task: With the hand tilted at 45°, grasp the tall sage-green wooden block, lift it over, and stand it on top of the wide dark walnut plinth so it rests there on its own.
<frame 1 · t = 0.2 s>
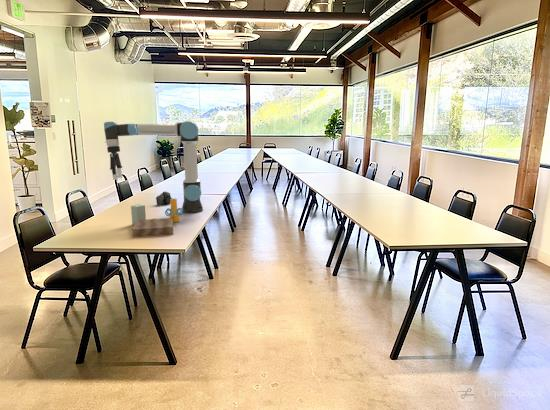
hand: (117, 178, 252), 27 cm above the table, tool pointing down, fingers open, 13 cm apart
walnut block: (154, 231, 230), on the table
orange post with rings: (174, 221, 252), on the table
sage block: (139, 223, 245), on the table
camera: (165, 204, 307), on the table
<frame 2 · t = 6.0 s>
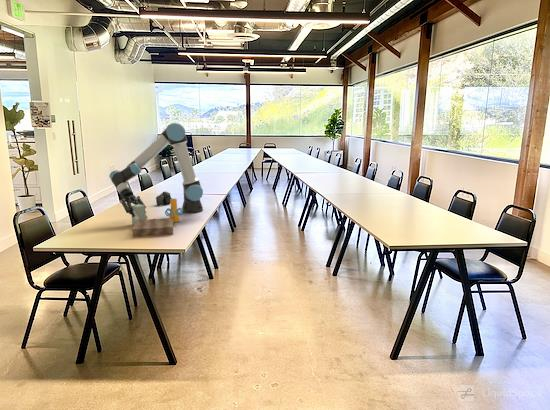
hand: (142, 219, 243), 4 cm above the table, tool tilted 45°, fingers closed on sage block, 6 cm apart
sage block: (139, 223, 245), on the table, touching gripper
everything else where it was.
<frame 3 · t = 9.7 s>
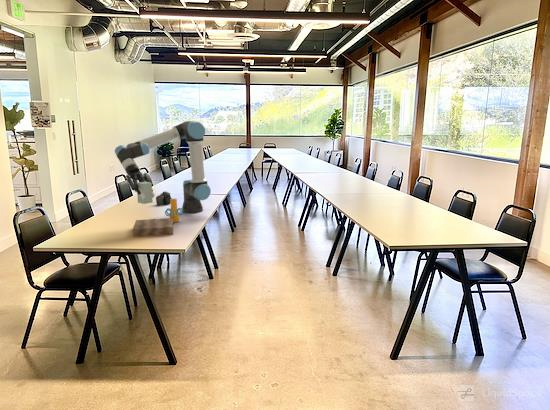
hand: (148, 197, 227), 20 cm above the table, tool tilted 45°, fingers closed on sage block, 6 cm apart
sage block: (145, 202, 230), point 16 cm above the table, touching gripper
everything else where it was.
when the fingers open (10 cm above the table, at t = 13.2 s): sage block drops 1 cm, resting on walnut block.
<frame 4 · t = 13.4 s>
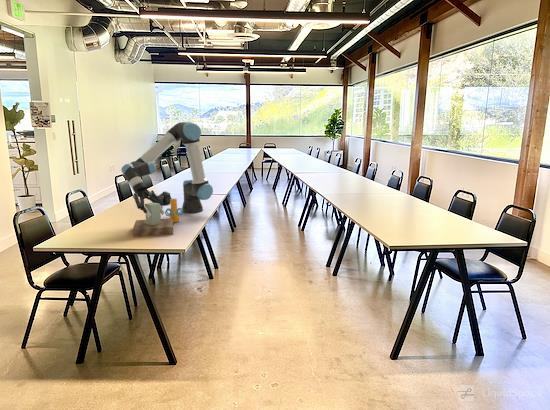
hand: (156, 215, 226), 10 cm above the table, tool tilted 45°, fingers open, 9 cm apart
walnut block: (154, 231, 230), on the table, touching sage block
sage block: (153, 223, 229), point 4 cm above the table, touching walnut block
everything else where it was.
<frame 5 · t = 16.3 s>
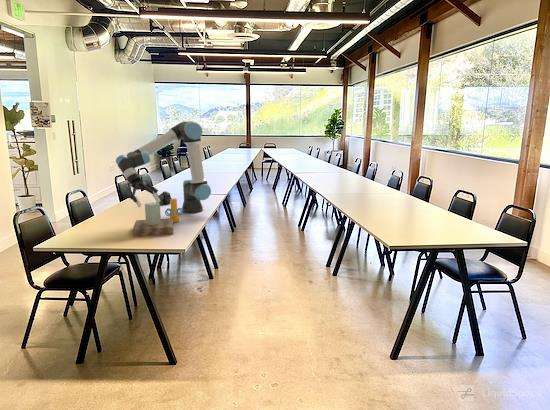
hand: (149, 204, 228), 16 cm above the table, tool tilted 45°, fingers open, 13 cm apart
nothing on the table moved.
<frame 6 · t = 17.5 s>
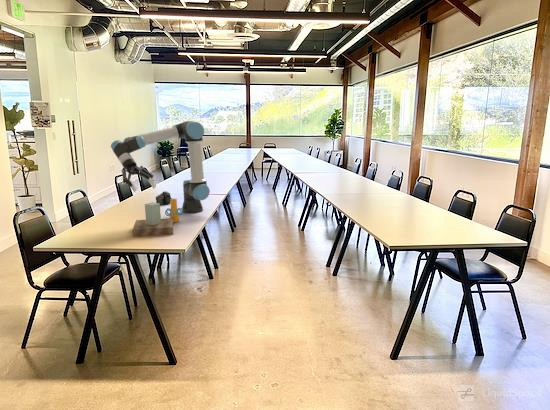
hand: (145, 188, 228), 25 cm above the table, tool tilted 45°, fingers open, 13 cm apart
walnut block: (154, 231, 230), on the table
sage block: (153, 223, 229), point 4 cm above the table
everything else where it was.
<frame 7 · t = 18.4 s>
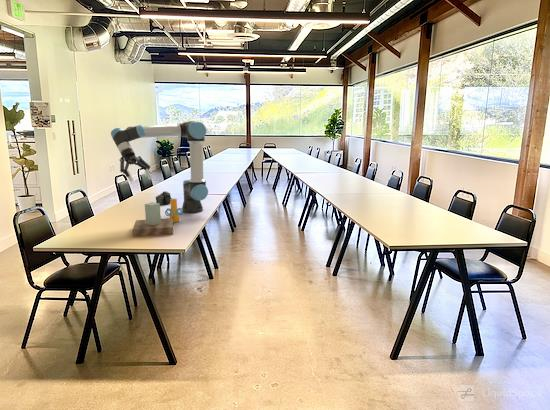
hand: (141, 179, 232), 29 cm above the table, tool tilted 40°, fingers open, 13 cm apart
walnut block: (154, 231, 230), on the table, touching sage block
sage block: (153, 223, 229), point 4 cm above the table, touching walnut block
everything else where it was.
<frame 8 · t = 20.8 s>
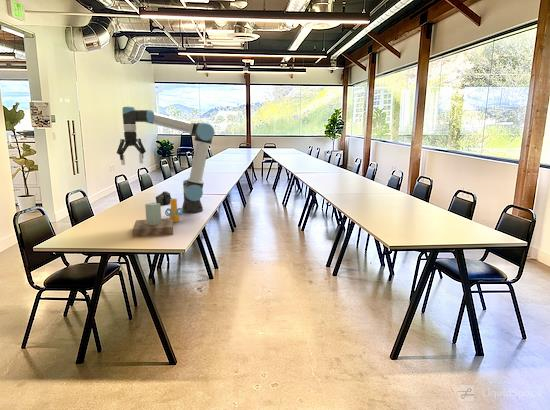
hand: (132, 164, 252), 37 cm above the table, tool pointing down, fingers open, 13 cm apart
at the end: sage block inside the target area on the walnut block (0.4 cm from its centre), point 5.0 cm above the walnut block's base; sage block tilted 0°; the gripper is holding nothing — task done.
